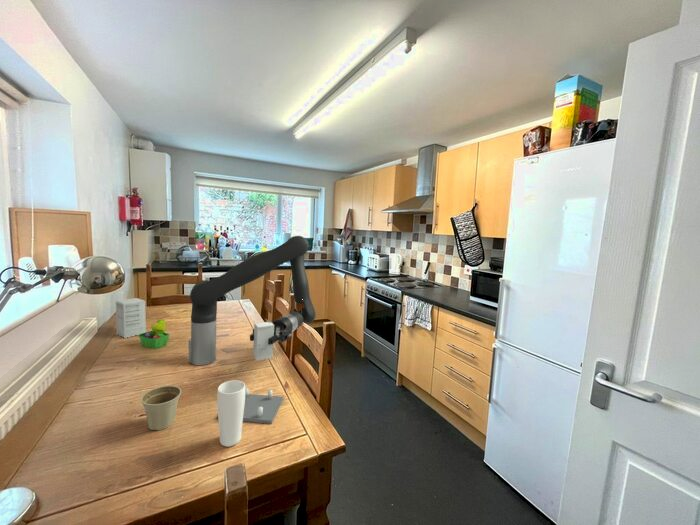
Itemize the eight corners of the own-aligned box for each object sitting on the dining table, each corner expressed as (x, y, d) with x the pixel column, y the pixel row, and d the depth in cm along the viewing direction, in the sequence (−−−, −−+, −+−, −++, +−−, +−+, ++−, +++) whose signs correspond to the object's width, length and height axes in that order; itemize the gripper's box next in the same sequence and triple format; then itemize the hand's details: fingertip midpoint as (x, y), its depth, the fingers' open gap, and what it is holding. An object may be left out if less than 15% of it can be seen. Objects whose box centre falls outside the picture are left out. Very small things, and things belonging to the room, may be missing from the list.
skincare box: (256, 361, 98) (256, 327, 96) (252, 356, 101) (253, 323, 100) (273, 357, 101) (274, 324, 100) (269, 352, 105) (270, 321, 103)
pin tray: (217, 418, 83) (218, 407, 83) (236, 395, 95) (236, 385, 95) (271, 423, 82) (272, 412, 82) (283, 399, 94) (283, 389, 94)
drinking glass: (222, 431, 78) (222, 379, 77) (247, 431, 79) (248, 380, 77) (212, 450, 72) (212, 393, 70) (240, 449, 72) (241, 394, 71)
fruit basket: (137, 345, 128) (136, 321, 127) (156, 339, 137) (156, 316, 135) (154, 351, 124) (153, 325, 123) (173, 344, 132) (173, 320, 131)
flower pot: (189, 418, 83) (189, 390, 82) (158, 439, 74) (157, 408, 73) (165, 409, 86) (165, 382, 85) (132, 429, 77) (132, 399, 76)
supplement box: (146, 333, 143) (146, 300, 141) (124, 338, 135) (123, 304, 133) (138, 329, 148) (137, 297, 146) (116, 333, 140) (115, 300, 138)
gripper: (269, 314, 116) (242, 326, 100) (301, 319, 111) (278, 333, 96) (269, 331, 117) (242, 346, 101) (300, 337, 112) (277, 354, 97)
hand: (259, 340), depth 98 cm, fingers closed on skincare box, 7 cm apart
